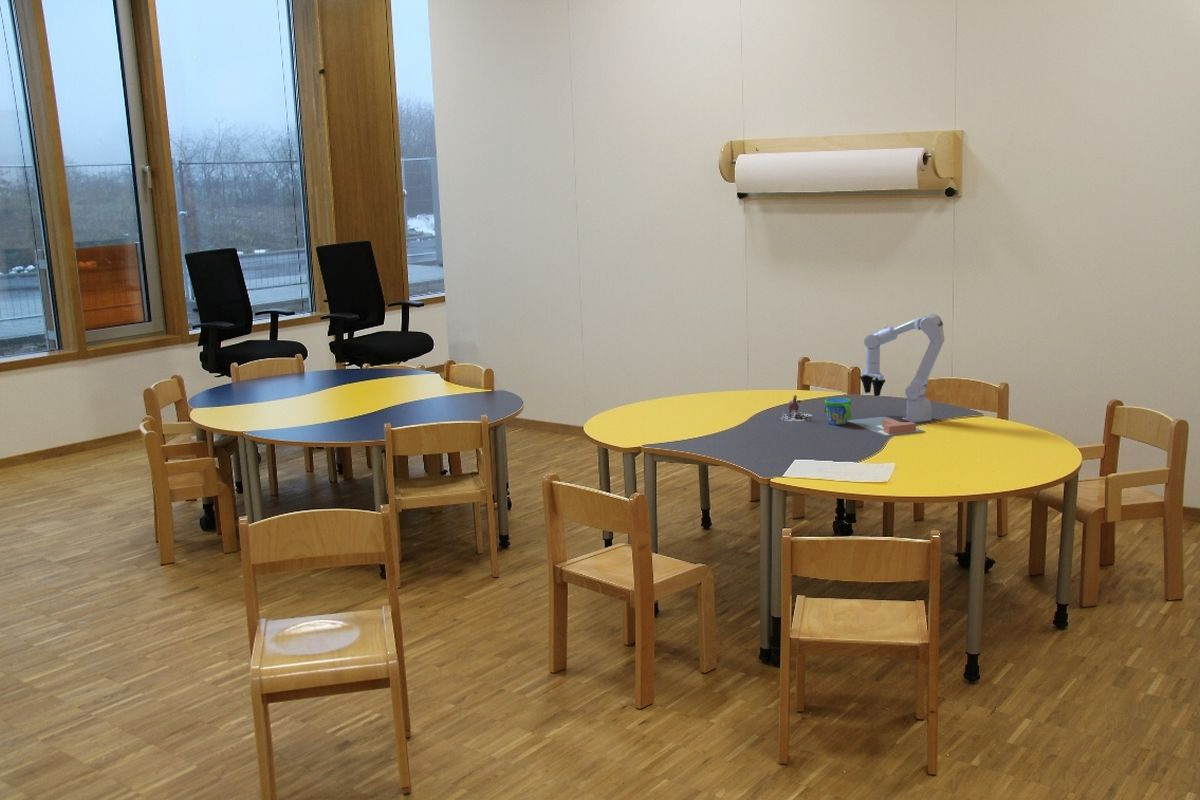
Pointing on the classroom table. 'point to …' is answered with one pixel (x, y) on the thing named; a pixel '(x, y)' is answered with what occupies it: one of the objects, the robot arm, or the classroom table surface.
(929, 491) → the classroom table surface
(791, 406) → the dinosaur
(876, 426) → the t board
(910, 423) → the t block
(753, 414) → the classroom table surface
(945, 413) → the classroom table surface
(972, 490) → the classroom table surface
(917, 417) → the robot arm
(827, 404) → the snack cup
